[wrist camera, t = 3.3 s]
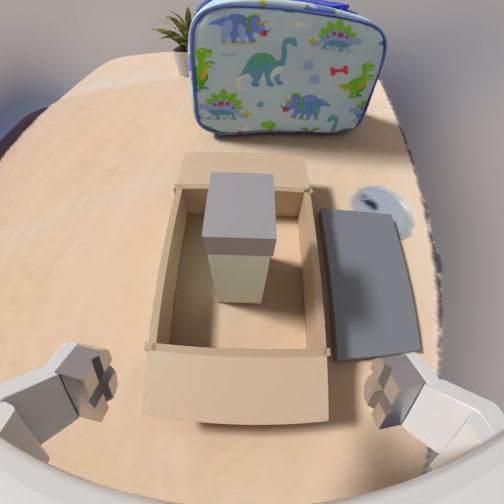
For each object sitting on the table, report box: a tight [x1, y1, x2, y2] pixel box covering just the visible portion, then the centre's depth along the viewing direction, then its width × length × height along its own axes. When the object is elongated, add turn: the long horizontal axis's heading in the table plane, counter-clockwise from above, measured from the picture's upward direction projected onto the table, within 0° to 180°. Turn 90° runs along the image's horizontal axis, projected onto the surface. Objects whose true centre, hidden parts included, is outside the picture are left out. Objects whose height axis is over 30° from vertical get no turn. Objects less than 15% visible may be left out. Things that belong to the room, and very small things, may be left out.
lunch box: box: [188, 0, 387, 135], centre depth 31 cm, size 26×11×21 cm, turn 98°
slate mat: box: [319, 209, 421, 361], centre depth 26 cm, size 16×9×1 cm, turn 179°
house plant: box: [153, 8, 196, 77], centre depth 43 cm, size 14×14×16 cm
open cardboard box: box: [143, 152, 331, 425], centre depth 25 cm, size 26×14×4 cm, turn 179°
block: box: [202, 172, 276, 304], centre depth 22 cm, size 5×4×11 cm
